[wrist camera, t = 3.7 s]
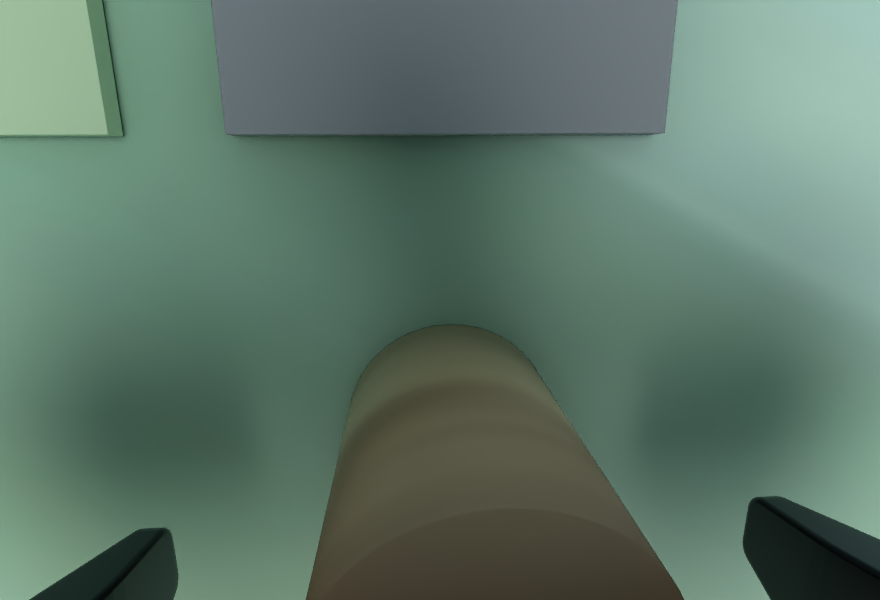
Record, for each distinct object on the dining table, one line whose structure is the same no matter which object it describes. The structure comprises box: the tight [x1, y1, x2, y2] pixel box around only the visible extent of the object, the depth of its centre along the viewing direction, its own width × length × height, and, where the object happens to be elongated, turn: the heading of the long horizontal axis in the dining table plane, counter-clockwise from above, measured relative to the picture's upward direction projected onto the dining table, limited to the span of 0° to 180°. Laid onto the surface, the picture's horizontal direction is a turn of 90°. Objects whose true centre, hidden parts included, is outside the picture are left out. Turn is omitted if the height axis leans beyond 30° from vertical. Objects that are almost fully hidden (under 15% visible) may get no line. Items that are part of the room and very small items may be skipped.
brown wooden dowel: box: [306, 324, 684, 600], centre depth 8 cm, size 4×4×6 cm
